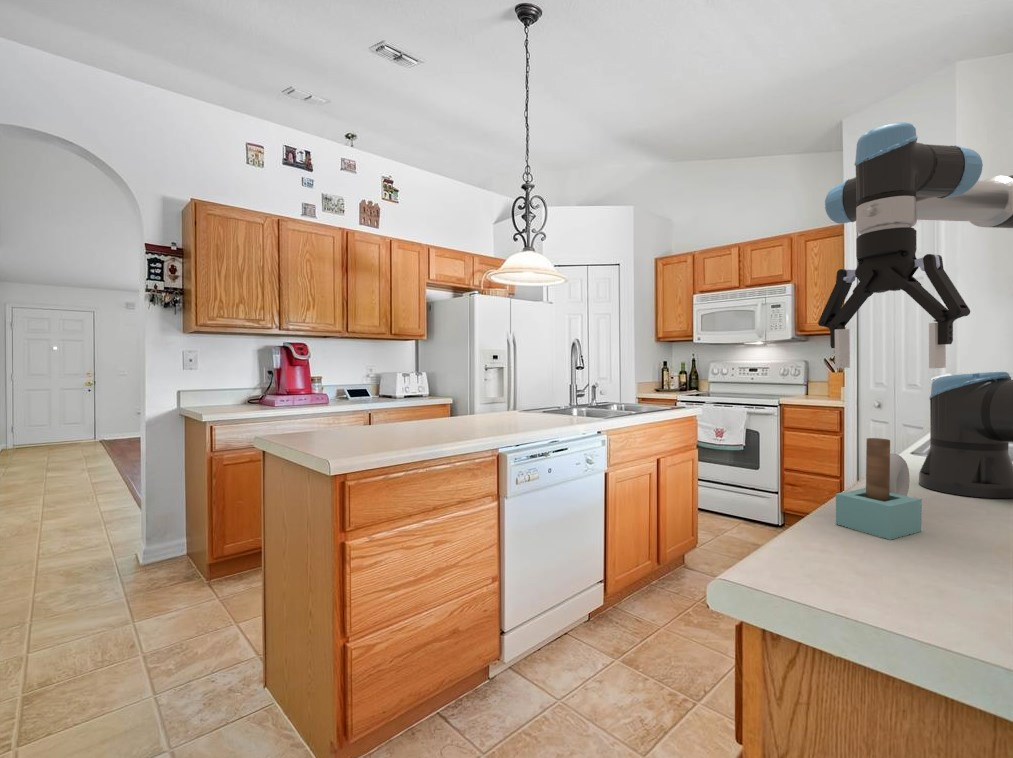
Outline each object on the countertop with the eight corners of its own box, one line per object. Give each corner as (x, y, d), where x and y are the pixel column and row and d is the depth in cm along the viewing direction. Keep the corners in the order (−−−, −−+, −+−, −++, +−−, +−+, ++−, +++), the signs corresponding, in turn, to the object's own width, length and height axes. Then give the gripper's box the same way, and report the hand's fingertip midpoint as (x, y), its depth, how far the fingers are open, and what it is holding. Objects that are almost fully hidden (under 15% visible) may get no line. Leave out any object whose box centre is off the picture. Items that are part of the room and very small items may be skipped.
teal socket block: (866, 517, 86) (866, 487, 86) (921, 531, 79) (921, 499, 79) (835, 524, 83) (835, 493, 83) (889, 539, 75) (890, 506, 75)
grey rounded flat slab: (892, 518, 85) (892, 458, 85) (868, 513, 88) (868, 455, 88) (912, 507, 91) (912, 451, 91) (889, 502, 94) (889, 448, 94)
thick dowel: (872, 523, 83) (873, 437, 82) (893, 529, 80) (894, 440, 79) (861, 526, 81) (862, 439, 81) (881, 532, 79) (882, 441, 78)
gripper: (794, 247, 89) (796, 368, 90) (972, 206, 67) (972, 369, 67) (822, 249, 92) (824, 367, 93) (1001, 211, 70) (1001, 367, 70)
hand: (886, 368), depth 80 cm, fingers open, 13 cm apart
